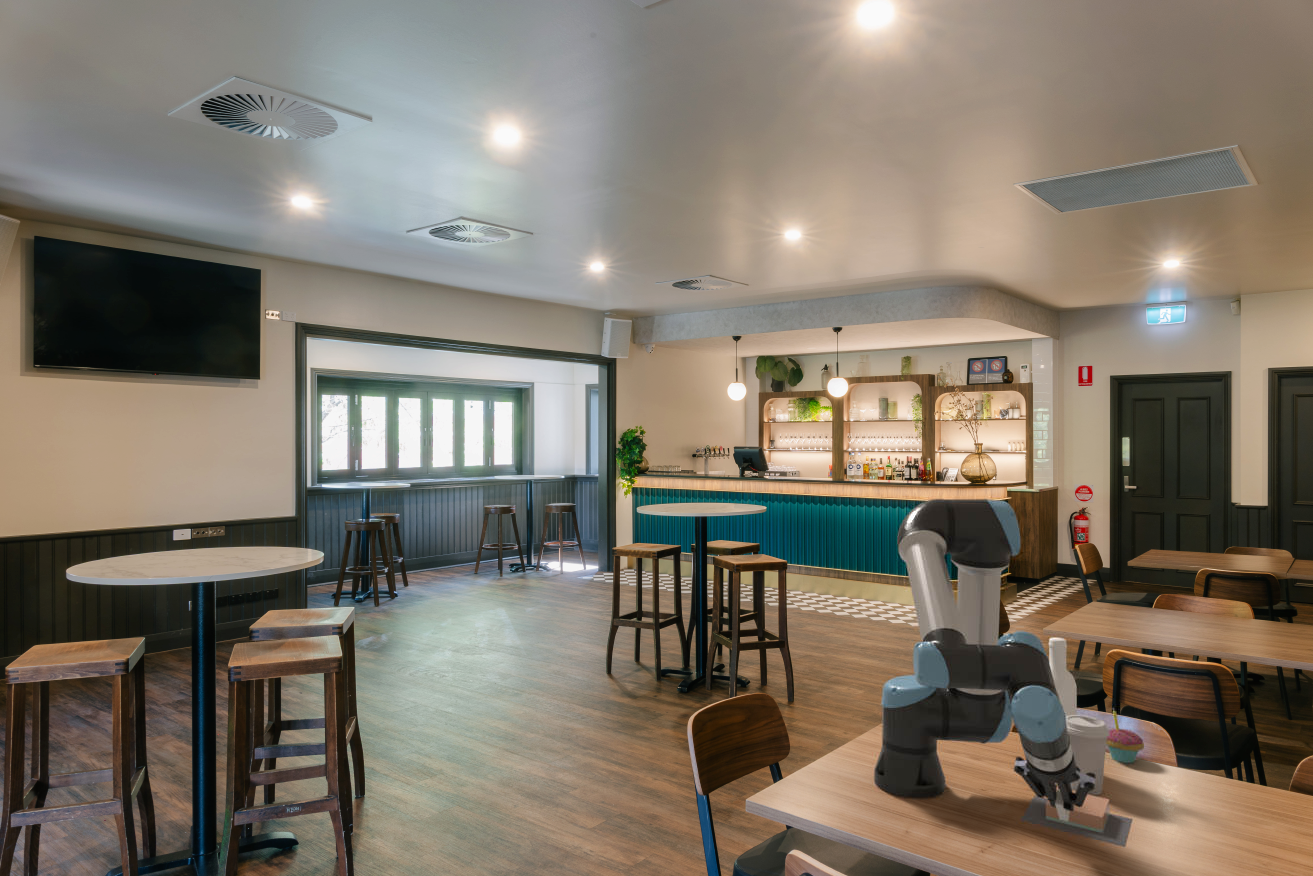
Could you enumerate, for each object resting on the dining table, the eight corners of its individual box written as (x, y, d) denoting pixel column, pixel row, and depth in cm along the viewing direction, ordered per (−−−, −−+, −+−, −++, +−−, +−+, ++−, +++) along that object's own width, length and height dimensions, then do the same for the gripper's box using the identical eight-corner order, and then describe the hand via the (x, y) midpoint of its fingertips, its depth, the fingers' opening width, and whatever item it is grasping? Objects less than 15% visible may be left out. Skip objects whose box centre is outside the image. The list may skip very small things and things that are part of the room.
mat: (1020, 822, 157) (1020, 819, 157) (1034, 798, 168) (1034, 795, 168) (1124, 849, 147) (1124, 846, 147) (1132, 821, 158) (1132, 818, 158)
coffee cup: (1116, 800, 168) (1116, 729, 168) (1068, 796, 170) (1067, 726, 170) (1100, 782, 177) (1100, 715, 178) (1055, 778, 179) (1054, 712, 179)
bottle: (1078, 763, 188) (1077, 637, 188) (1076, 775, 181) (1075, 644, 182) (1041, 757, 192) (1040, 633, 193) (1038, 767, 185) (1037, 640, 186)
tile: (1045, 803, 158) (1054, 786, 166) (1045, 818, 158) (1054, 801, 166) (1102, 817, 152) (1109, 799, 160) (1102, 833, 152) (1109, 814, 160)
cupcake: (1101, 760, 190) (1100, 710, 190) (1104, 750, 197) (1104, 702, 197) (1143, 769, 185) (1142, 717, 185) (1145, 757, 192) (1144, 708, 192)
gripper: (1003, 763, 135) (1023, 823, 148) (1089, 782, 127) (1102, 844, 140) (1010, 723, 139) (1029, 784, 152) (1094, 740, 131) (1106, 803, 145)
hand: (1064, 813), depth 146 cm, fingers closed
